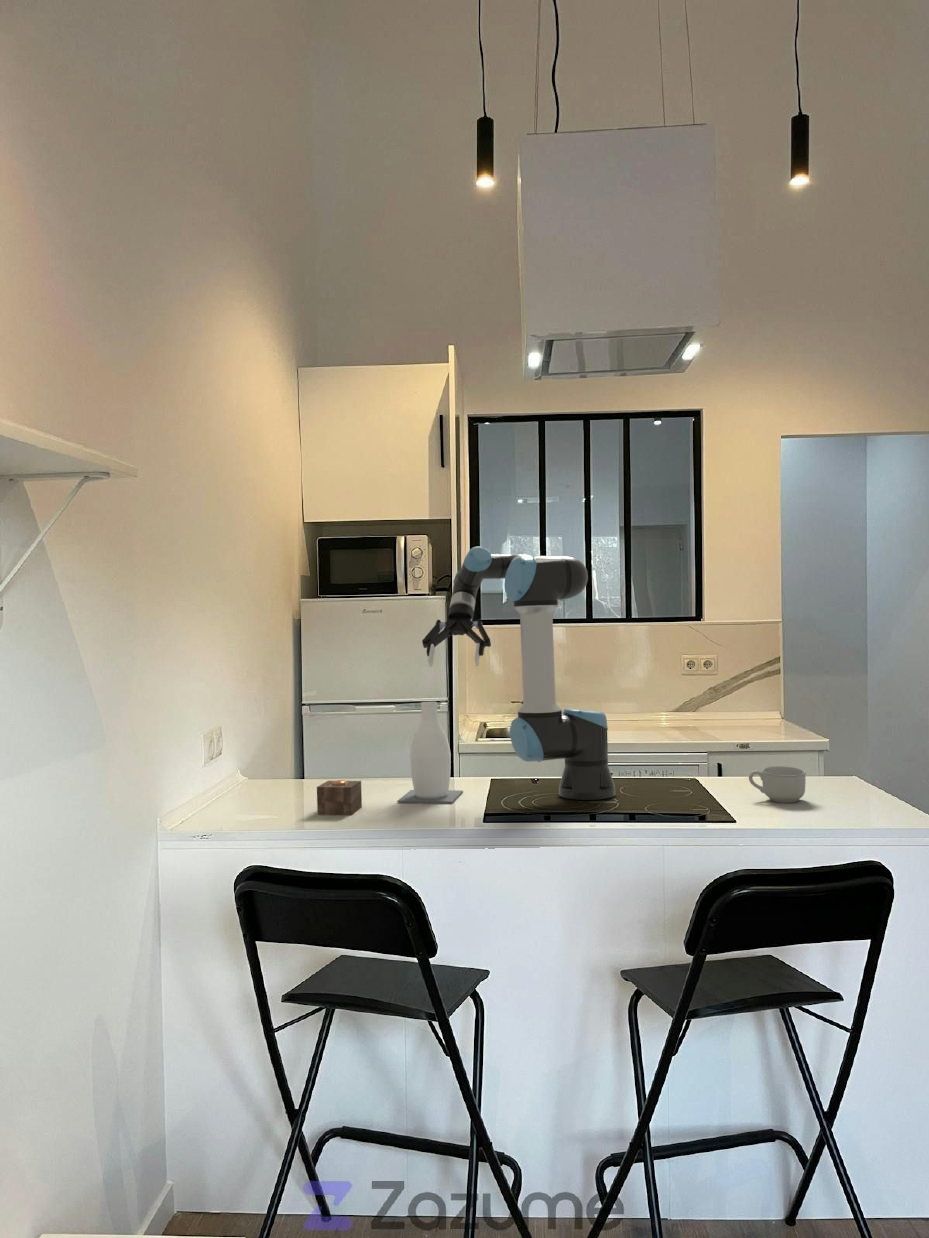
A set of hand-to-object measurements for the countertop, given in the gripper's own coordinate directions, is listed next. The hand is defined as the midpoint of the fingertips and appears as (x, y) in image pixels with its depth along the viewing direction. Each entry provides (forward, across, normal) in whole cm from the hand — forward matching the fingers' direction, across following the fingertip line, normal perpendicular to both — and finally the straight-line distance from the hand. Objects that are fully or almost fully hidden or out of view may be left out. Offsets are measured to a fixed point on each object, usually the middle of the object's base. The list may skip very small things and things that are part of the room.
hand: (453, 663), depth 275 cm
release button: (+48, +24, 0) cm, 53 cm away
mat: (+36, +4, -14) cm, 39 cm away
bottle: (+36, +4, -14) cm, 39 cm away
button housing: (+49, +24, -1) cm, 55 cm away
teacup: (+35, -87, -16) cm, 95 cm away
